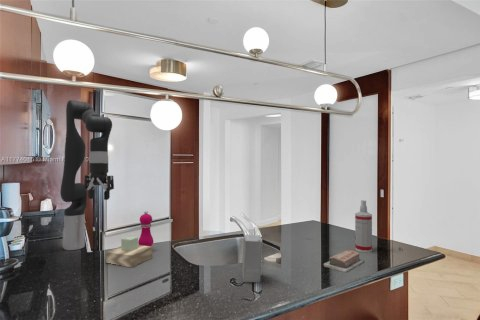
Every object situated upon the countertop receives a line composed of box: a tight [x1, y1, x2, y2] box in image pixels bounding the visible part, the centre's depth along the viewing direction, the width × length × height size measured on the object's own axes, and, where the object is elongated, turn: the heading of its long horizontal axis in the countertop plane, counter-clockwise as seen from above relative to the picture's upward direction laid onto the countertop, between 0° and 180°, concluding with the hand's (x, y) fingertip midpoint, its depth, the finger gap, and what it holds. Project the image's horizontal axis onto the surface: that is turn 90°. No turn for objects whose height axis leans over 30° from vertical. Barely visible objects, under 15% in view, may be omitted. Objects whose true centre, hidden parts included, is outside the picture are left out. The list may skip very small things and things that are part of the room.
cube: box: [120, 236, 139, 251], centre depth 135 cm, size 5×5×5 cm
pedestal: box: [105, 244, 154, 268], centre depth 135 cm, size 14×14×5 cm
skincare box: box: [241, 234, 263, 283], centre depth 114 cm, size 8×7×16 cm
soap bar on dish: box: [323, 249, 365, 273], centre depth 130 cm, size 18×5×10 cm
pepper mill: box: [138, 210, 154, 247], centre depth 149 cm, size 7×7×20 cm
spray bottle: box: [354, 200, 373, 253], centre depth 151 cm, size 8×8×25 cm
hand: (98, 199), depth 131 cm, fingers open, 8 cm apart
